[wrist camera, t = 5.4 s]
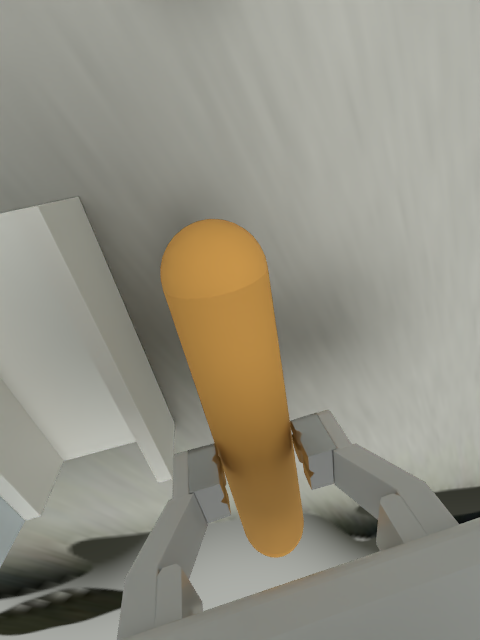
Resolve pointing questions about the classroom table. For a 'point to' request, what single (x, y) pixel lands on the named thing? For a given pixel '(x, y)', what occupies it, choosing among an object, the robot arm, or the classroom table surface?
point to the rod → (237, 372)
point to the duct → (67, 358)
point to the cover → (8, 528)
